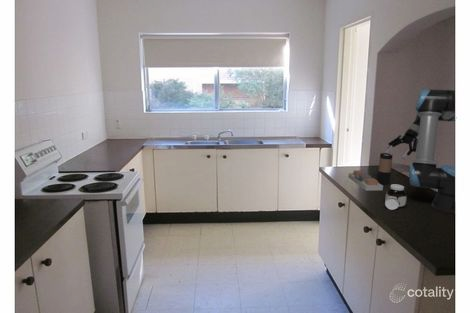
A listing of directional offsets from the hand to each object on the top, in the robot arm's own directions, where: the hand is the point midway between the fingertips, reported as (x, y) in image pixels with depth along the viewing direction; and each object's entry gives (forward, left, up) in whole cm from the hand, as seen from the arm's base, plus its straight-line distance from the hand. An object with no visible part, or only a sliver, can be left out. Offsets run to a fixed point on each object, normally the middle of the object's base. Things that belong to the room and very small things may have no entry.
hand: (394, 156), depth 229 cm
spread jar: (-22, +45, -18) cm, 53 cm away
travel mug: (+2, +9, -18) cm, 20 cm away
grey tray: (+10, +19, -18) cm, 28 cm away
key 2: (+3, +24, -15) cm, 29 cm away
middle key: (+10, +19, -15) cm, 26 cm away
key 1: (+17, +13, -15) cm, 26 cm away
